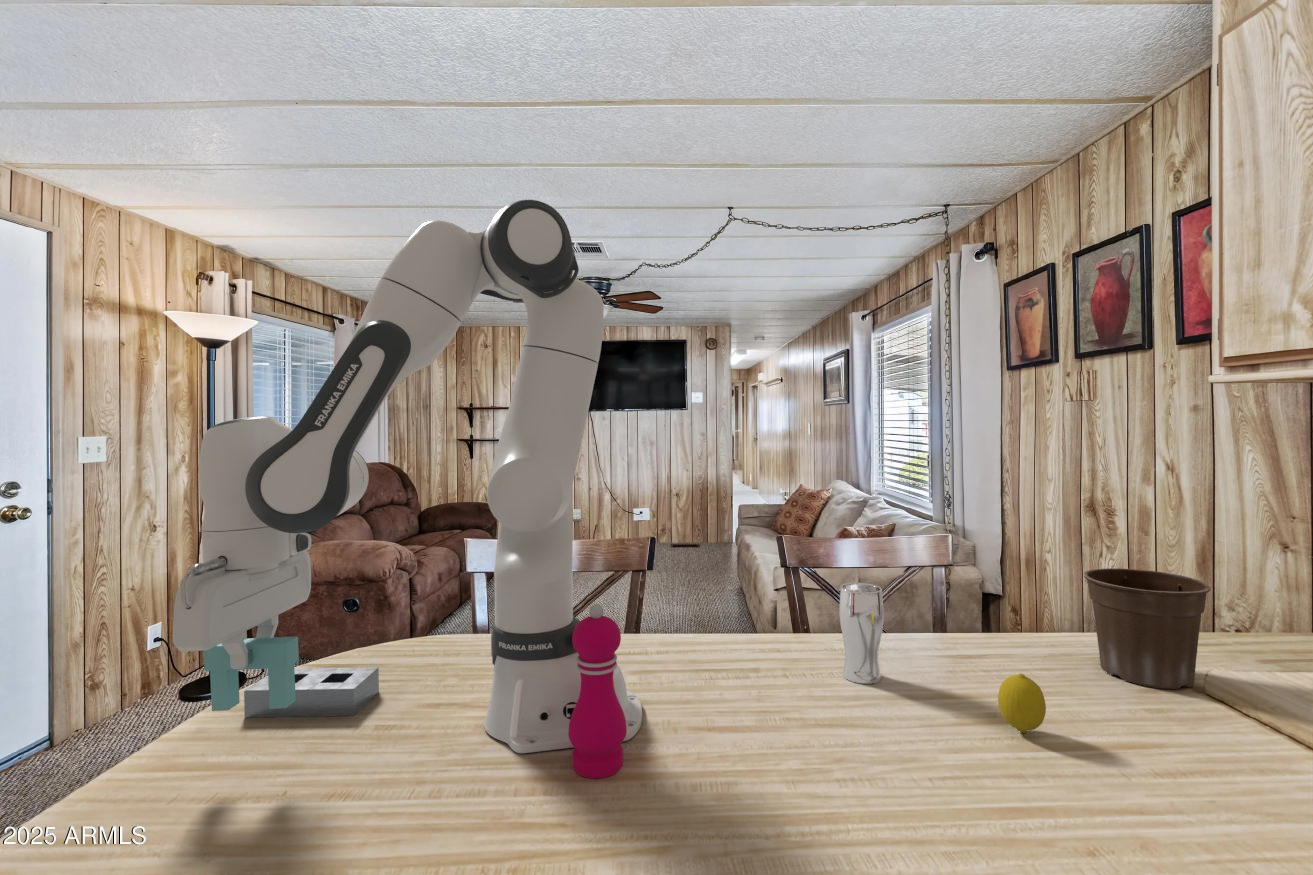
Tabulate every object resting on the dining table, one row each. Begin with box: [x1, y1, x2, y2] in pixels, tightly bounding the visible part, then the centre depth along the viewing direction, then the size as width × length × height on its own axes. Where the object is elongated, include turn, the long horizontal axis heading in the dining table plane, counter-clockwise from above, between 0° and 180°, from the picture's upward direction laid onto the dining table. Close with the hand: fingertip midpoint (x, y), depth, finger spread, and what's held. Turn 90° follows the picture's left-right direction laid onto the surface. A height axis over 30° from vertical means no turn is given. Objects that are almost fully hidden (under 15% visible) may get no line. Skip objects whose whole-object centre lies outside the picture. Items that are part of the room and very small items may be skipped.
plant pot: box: [1083, 567, 1211, 690], centre depth 99 cm, size 16×16×16 cm
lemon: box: [997, 673, 1047, 733], centre depth 81 cm, size 6×6×8 cm
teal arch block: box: [203, 636, 300, 712], centre depth 74 cm, size 10×2×8 cm, turn 91°
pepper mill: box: [568, 603, 627, 779], centre depth 74 cm, size 7×7×20 cm
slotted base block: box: [243, 666, 380, 719], centre depth 92 cm, size 16×8×4 cm, turn 91°
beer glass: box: [839, 582, 884, 685], centre depth 100 cm, size 7×7×15 cm
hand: (252, 660), depth 74 cm, fingers closed on teal arch block, 2 cm apart
